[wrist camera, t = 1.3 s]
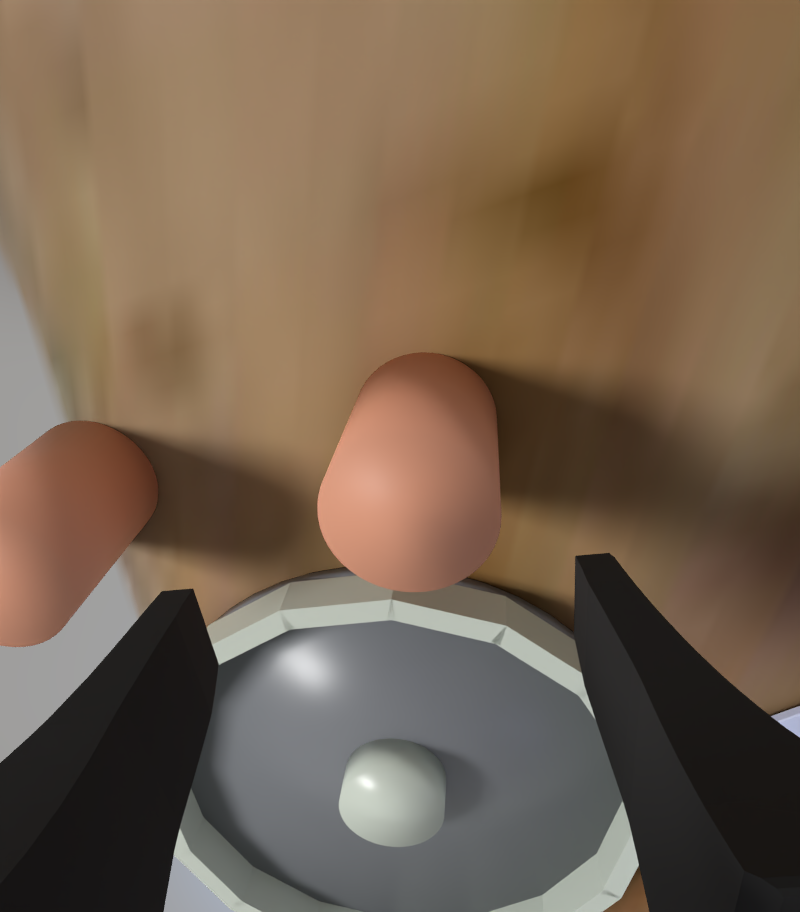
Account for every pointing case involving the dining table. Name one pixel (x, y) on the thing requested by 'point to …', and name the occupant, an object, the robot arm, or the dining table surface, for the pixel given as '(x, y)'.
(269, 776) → the groove tray
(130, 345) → the dining table surface
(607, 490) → the dining table surface
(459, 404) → the salmon rounded capsule
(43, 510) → the reddish brown rounded cylinder
